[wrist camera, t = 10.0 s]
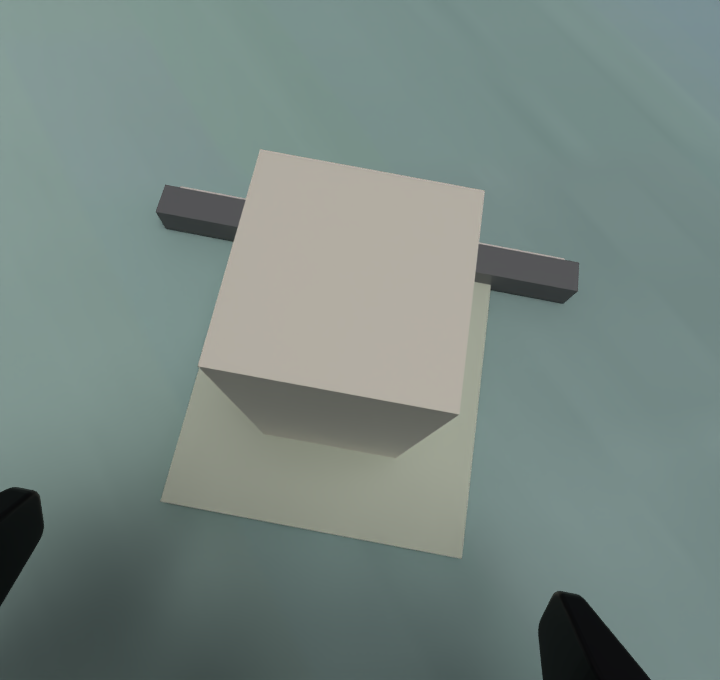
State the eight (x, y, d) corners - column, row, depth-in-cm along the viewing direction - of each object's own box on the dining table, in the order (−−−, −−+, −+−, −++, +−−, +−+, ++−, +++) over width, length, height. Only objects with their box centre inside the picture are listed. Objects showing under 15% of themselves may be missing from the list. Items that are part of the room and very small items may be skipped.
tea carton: (395, 458, 17) (458, 414, 9) (263, 433, 17) (197, 366, 9) (414, 329, 19) (485, 184, 10) (293, 307, 19) (261, 142, 10)
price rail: (165, 228, 20) (155, 211, 19) (175, 199, 20) (166, 181, 19) (563, 303, 20) (577, 291, 19) (565, 273, 20) (579, 259, 19)
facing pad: (164, 501, 17) (160, 501, 16) (239, 240, 20) (237, 235, 20) (458, 557, 17) (461, 558, 16) (488, 287, 20) (490, 283, 19)
